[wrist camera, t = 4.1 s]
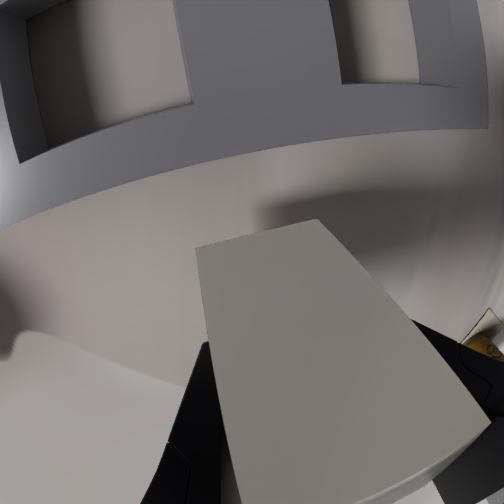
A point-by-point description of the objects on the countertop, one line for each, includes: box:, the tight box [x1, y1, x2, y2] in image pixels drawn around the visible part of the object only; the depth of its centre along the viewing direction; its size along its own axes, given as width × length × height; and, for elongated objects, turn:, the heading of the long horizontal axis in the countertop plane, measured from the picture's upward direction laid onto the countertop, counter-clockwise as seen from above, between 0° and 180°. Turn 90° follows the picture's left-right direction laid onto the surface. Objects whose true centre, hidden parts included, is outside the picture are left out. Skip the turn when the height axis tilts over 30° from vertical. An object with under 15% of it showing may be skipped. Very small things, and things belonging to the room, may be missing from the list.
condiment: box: [461, 309, 504, 362], centre depth 19 cm, size 7×8×12 cm
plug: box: [196, 219, 491, 504], centre depth 7 cm, size 4×4×8 cm
